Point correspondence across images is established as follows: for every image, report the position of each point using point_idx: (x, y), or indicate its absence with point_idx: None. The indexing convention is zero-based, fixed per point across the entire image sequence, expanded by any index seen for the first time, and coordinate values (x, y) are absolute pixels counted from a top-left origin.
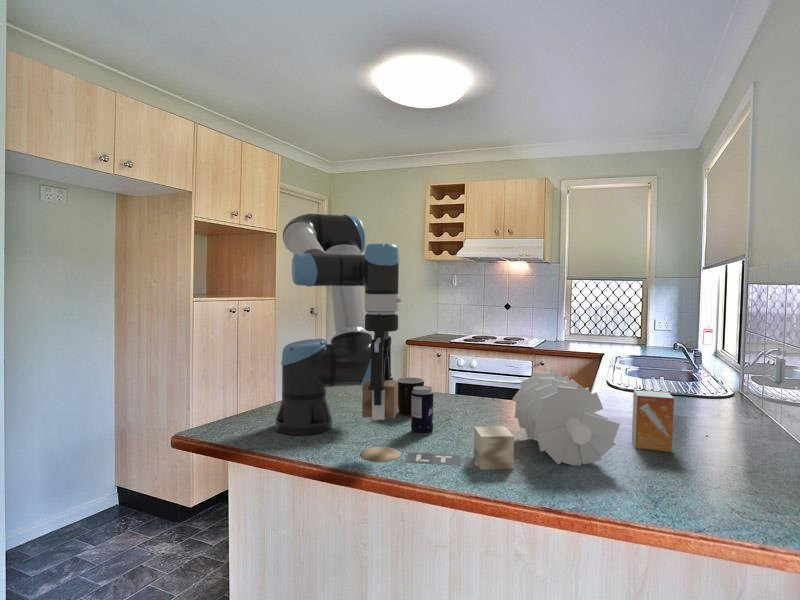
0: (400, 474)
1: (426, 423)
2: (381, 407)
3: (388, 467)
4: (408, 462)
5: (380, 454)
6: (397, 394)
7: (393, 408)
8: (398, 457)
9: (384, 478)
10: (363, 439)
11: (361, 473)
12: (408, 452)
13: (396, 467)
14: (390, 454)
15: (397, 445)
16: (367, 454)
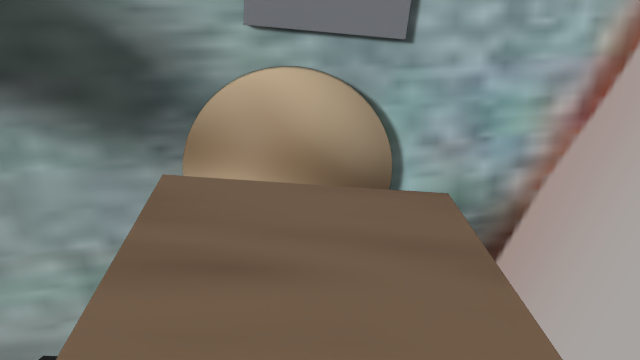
0: (534, 56)
1: None
2: None
3: (441, 119)
4: (406, 18)
5: (302, 173)
6: (182, 268)
7: (476, 241)
8: (331, 77)
9: (571, 128)
10: (40, 274)
11: (504, 227)
12: (244, 21)
13: (442, 80)
14: (300, 122)
15: (99, 90)
16: None
